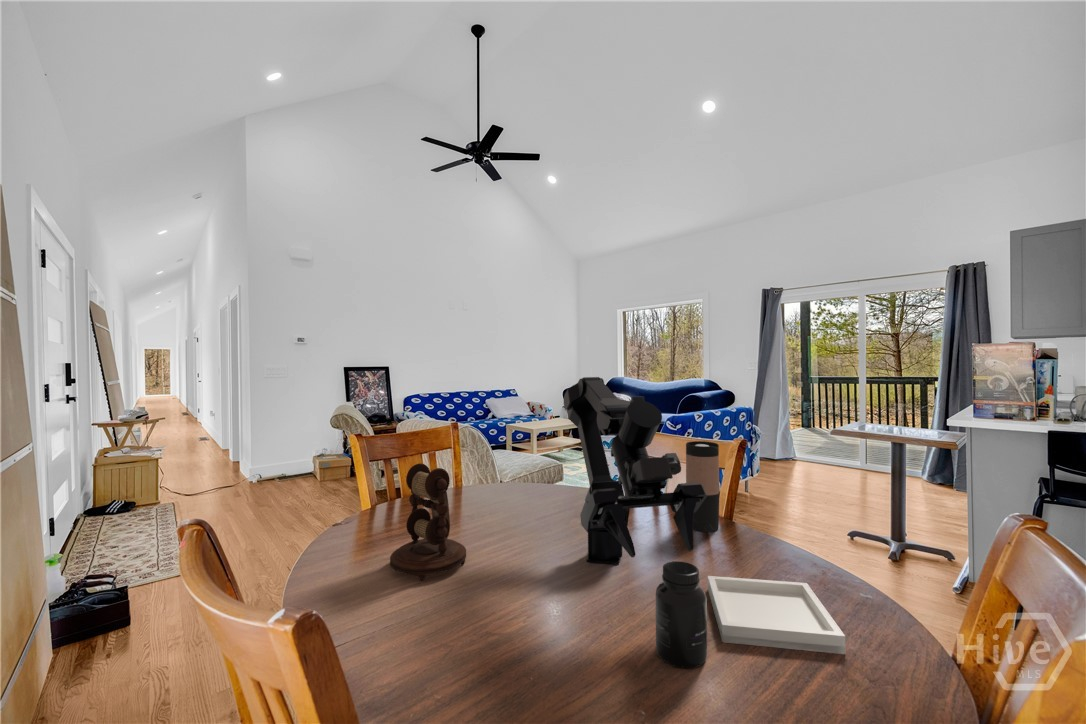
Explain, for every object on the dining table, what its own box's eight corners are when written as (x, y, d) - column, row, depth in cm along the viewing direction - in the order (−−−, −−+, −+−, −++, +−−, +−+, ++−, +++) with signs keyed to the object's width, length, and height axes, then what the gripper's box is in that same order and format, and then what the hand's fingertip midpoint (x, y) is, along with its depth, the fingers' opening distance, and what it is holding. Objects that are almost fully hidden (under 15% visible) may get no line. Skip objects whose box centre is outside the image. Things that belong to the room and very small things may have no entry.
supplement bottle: (710, 673, 63) (709, 581, 63) (656, 667, 65) (655, 576, 64) (704, 642, 70) (703, 559, 70) (655, 637, 71) (654, 556, 71)
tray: (722, 642, 70) (722, 624, 70) (707, 589, 86) (707, 575, 86) (845, 654, 67) (845, 636, 67) (806, 597, 82) (806, 583, 82)
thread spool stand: (481, 564, 98) (480, 464, 97) (417, 590, 87) (415, 478, 87) (438, 545, 108) (437, 455, 108) (376, 567, 97) (374, 466, 97)
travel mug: (681, 522, 121) (680, 441, 121) (711, 520, 122) (710, 440, 121) (693, 533, 113) (692, 447, 113) (725, 531, 114) (724, 446, 114)
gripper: (590, 438, 76) (615, 533, 65) (700, 433, 80) (741, 522, 69) (577, 477, 84) (598, 568, 73) (678, 470, 87) (712, 556, 77)
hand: (662, 553), depth 73 cm, fingers open, 9 cm apart
